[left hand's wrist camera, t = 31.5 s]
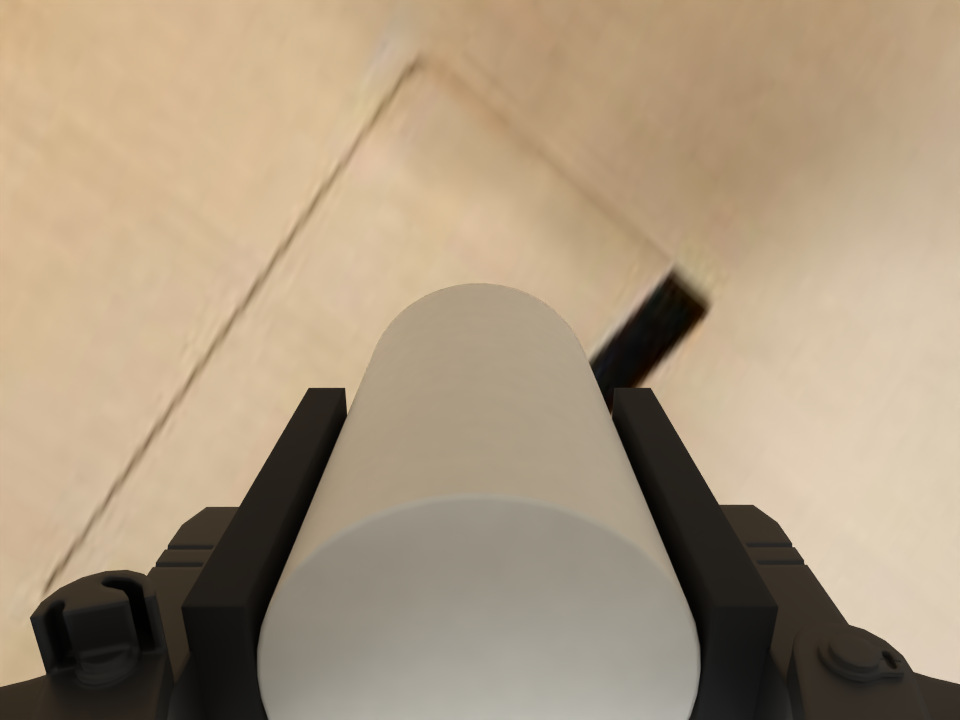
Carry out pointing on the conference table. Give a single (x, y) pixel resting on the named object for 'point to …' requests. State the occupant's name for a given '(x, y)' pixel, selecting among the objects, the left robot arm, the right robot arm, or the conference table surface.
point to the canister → (478, 540)
